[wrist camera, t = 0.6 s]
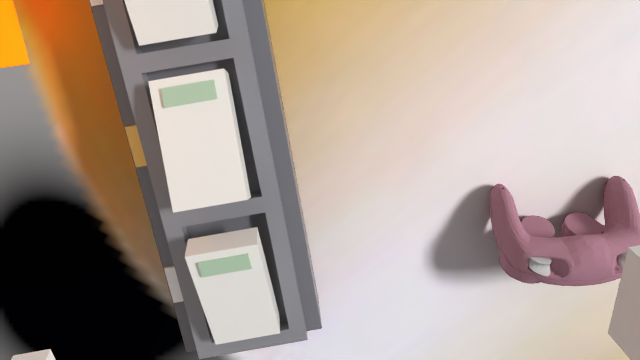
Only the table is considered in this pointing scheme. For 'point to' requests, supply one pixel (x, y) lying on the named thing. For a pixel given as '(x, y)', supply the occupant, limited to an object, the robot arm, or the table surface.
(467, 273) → the table surface
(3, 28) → the orange juice
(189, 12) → the rocker
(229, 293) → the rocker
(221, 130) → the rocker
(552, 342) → the table surface
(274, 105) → the power strip
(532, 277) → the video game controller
